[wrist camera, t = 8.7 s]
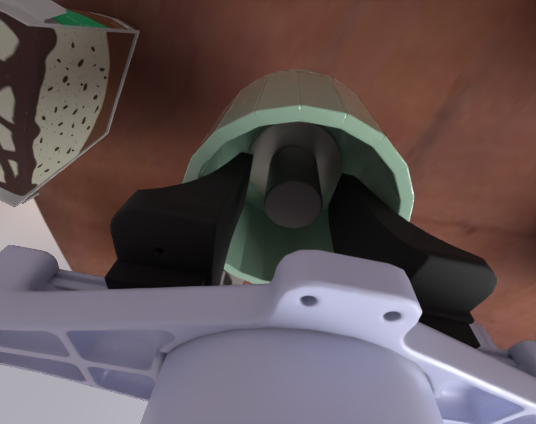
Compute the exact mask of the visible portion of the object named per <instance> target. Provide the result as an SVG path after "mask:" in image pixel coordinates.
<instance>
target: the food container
mask: <svg viewBox="0 0 536 424" xmlns="http://www.w3.org/2000/svg"><path fill="white" fill-rule="evenodd" d="M139 32H140V30H138V29H137V28H135V27H134V26H132V25H130V24H129V23H127V22H125V21H124V20H121V19H117V18H114V17H110V16H107V15H104V14H100V13H93V12H87V11H80V10H74V9H68V8H63V7H62V6H60V5H58V4H57V3H55V2H53V1H52V0H0V200H1V201H3V202H5V203H7V204H9V205H11V206H13V207H16V206H17V205H19V204H20V203H22V204H23V203H25V202H27V201H29V200H30V199H32V198H34V197H35V196H37V195H39V192H37V190H38V189H39V188H41V187H42V186H43V185H44V184H46V183H47V182H48V181H49V180H51V179H52V178H53V177H54V176H56V175H57V174H58V173H60V172H61V171H62V170H63V169H65V168H66V167H67V166H68V165H70V164H71V163H72V162H73V161H75V160H76V159H77V158H78V157H80V156H81V155H82V154H84V153H85V152H86V151H87V150H89V149H90V148H91V147H92V146H94V145H95V144H96V143H97V142H99V141H100V140H101V139H102V138H104V137H105V136H106V135H108V133H109V130H110V127H111V123H112V120H113V117H114V114H115V110H116V107H117V104H118V101H119V97H120V94H121V91H122V88H123V84H124V81H125V78H126V75H127V71H128V68H129V65H130V62H131V58H132V55H133V52H134V49H135V45H136V42H137V39H138V36H139Z"/></svg>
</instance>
